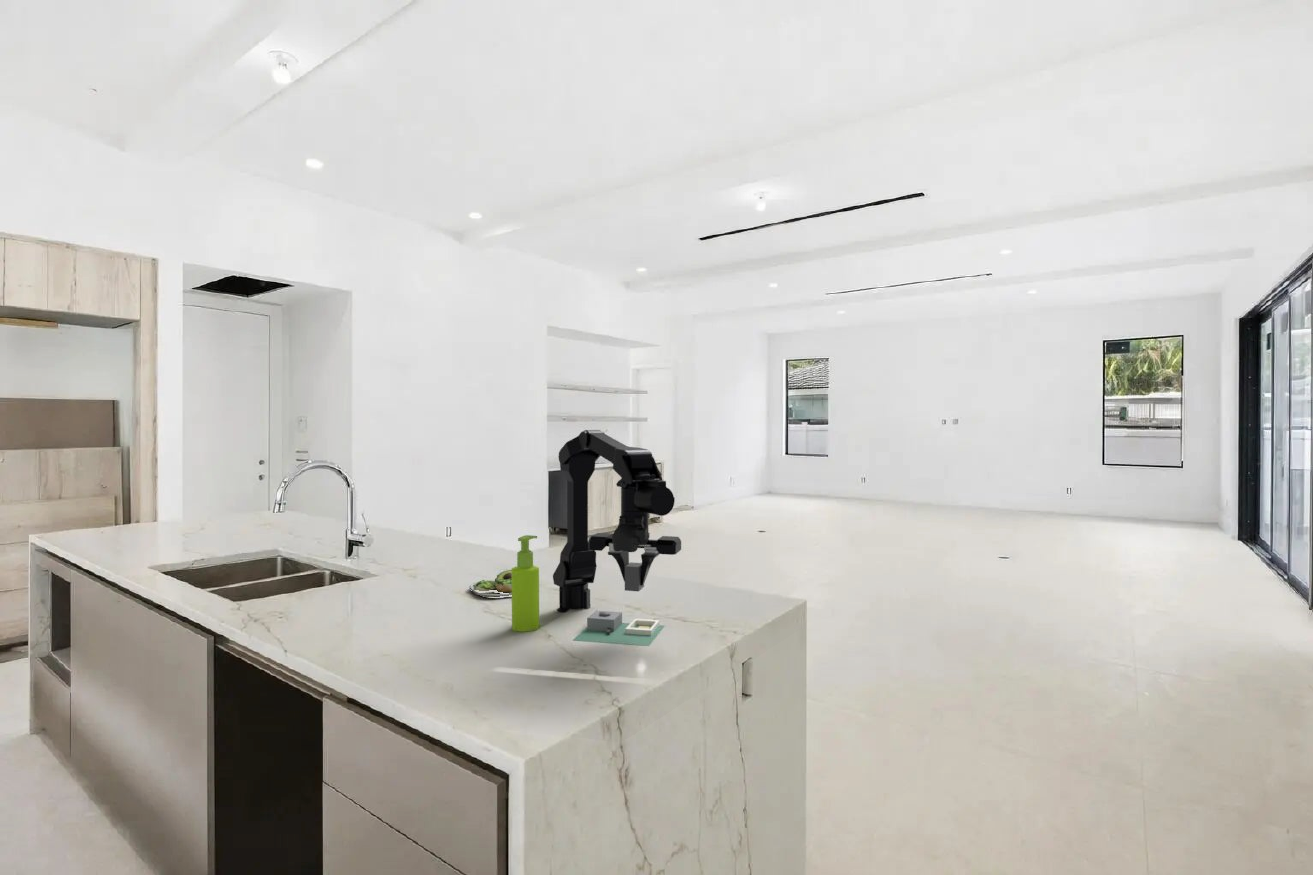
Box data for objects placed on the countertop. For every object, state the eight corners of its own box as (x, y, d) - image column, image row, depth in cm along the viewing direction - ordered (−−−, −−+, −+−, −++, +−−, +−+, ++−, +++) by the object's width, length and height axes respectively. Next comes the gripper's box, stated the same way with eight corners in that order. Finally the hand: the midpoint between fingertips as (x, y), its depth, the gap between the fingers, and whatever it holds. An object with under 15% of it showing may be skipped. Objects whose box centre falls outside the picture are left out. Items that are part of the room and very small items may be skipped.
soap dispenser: (546, 623, 156) (545, 534, 155) (530, 632, 149) (530, 539, 149) (523, 621, 158) (522, 533, 157) (506, 630, 151) (506, 538, 151)
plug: (624, 590, 143) (624, 566, 143) (631, 584, 148) (631, 561, 148) (638, 591, 143) (638, 567, 142) (645, 585, 147) (645, 562, 147)
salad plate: (551, 597, 181) (551, 579, 181) (482, 605, 173) (482, 587, 173) (528, 582, 198) (528, 565, 198) (465, 589, 190) (465, 572, 190)
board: (572, 644, 141) (572, 625, 141) (595, 624, 155) (595, 607, 155) (648, 649, 137) (648, 631, 137) (665, 628, 151) (665, 611, 151)
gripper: (578, 513, 139) (578, 591, 139) (669, 517, 134) (669, 597, 135) (597, 506, 150) (597, 578, 150) (682, 509, 145) (681, 584, 146)
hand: (634, 584), depth 145 cm, fingers closed on plug, 3 cm apart
